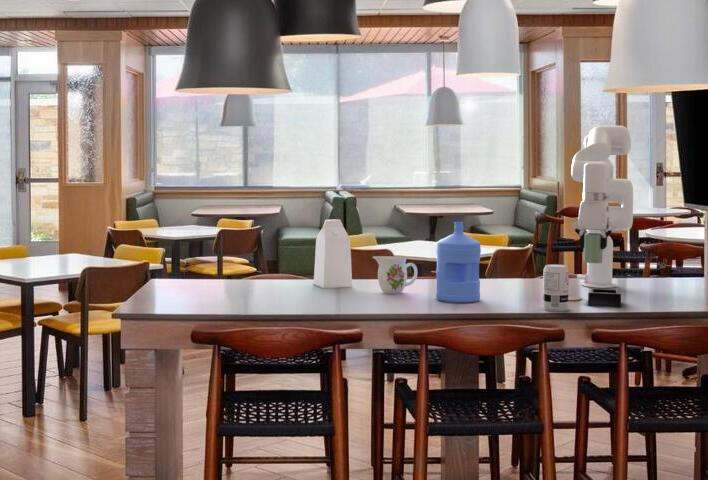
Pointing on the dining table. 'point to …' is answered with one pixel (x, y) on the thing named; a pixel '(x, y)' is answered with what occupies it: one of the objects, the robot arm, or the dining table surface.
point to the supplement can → (555, 287)
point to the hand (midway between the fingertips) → (593, 247)
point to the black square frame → (604, 297)
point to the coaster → (573, 298)
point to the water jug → (458, 267)
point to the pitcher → (393, 273)
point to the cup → (593, 248)
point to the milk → (333, 256)
